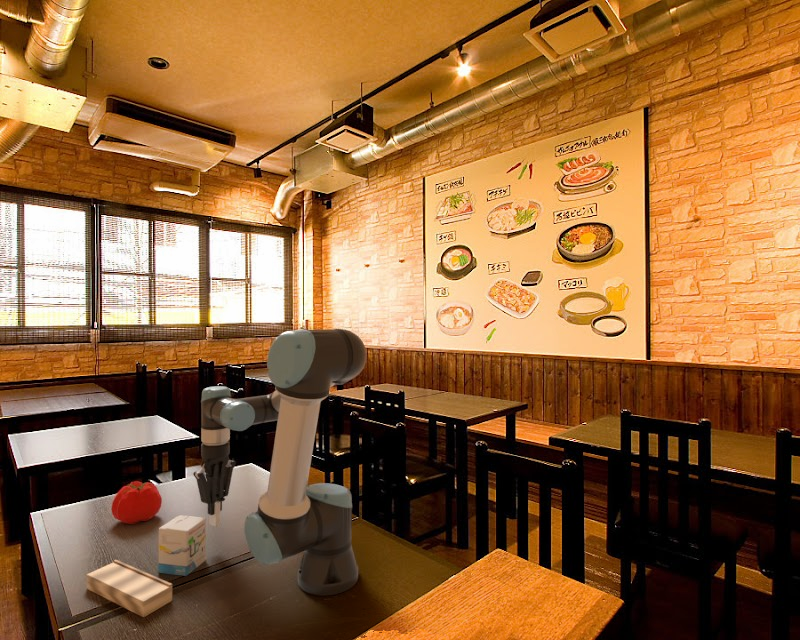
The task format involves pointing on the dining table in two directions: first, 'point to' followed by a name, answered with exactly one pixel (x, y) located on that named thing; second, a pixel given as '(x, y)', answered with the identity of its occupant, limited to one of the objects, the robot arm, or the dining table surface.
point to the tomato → (136, 502)
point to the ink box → (182, 545)
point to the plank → (130, 587)
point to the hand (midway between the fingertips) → (214, 524)
